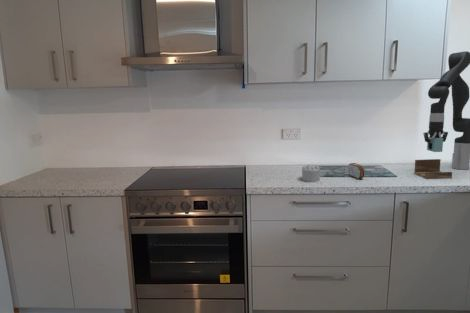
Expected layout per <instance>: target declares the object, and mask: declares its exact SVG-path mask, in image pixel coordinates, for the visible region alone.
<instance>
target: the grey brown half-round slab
mask: <svg viewBox="0 0 470 313" xmlns="http://www.w3.org/2000/svg"><path fill="white" fill-rule="evenodd" d="M348 174H349V175H350V176H351V177H352V178H355V179H357V180H361V179H364V178H365V169H364V167H363V166H362V165H361V164H358V163H357V162H356V163H355V162H352V163H349V164H348Z"/></svg>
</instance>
